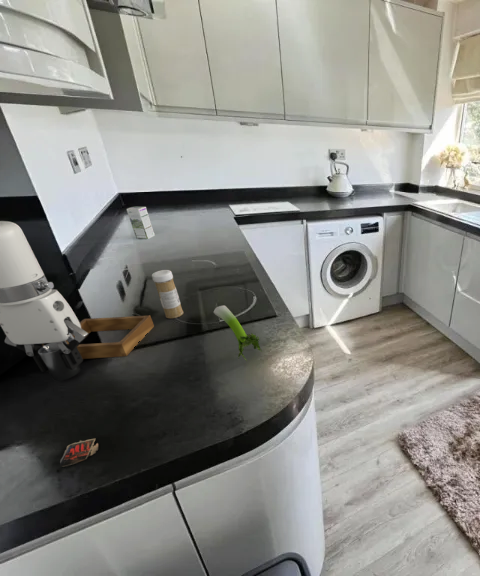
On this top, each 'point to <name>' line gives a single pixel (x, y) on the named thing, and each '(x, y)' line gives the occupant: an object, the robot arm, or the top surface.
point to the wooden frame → (114, 349)
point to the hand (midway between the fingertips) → (62, 365)
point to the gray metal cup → (56, 362)
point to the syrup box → (140, 222)
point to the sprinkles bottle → (167, 293)
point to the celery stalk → (237, 329)
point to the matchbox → (78, 452)
